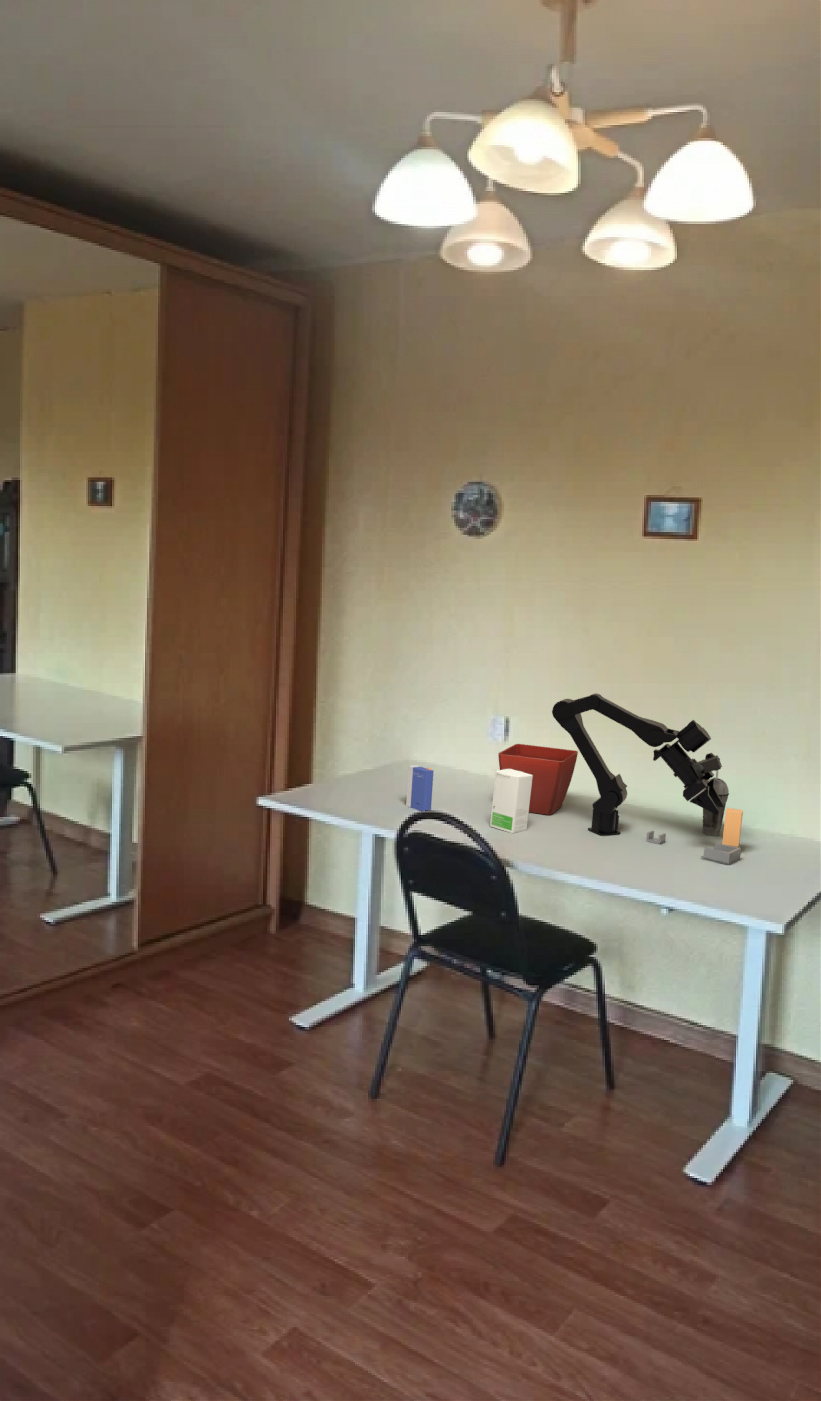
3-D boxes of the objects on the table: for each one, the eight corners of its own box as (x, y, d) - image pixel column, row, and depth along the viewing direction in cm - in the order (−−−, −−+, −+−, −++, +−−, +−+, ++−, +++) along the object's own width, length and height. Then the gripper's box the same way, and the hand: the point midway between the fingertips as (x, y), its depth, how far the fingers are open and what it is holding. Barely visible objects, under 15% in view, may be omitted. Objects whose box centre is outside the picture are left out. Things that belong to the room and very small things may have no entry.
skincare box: (489, 827, 303) (493, 770, 300) (504, 823, 308) (508, 767, 305) (513, 833, 297) (518, 776, 295) (528, 830, 302) (533, 773, 300)
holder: (700, 858, 284) (701, 847, 284) (712, 853, 290) (713, 842, 289) (728, 865, 280) (729, 853, 279) (739, 859, 285) (741, 848, 285)
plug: (721, 852, 292) (725, 810, 290) (722, 848, 295) (727, 807, 294) (737, 854, 290) (741, 813, 289) (739, 850, 294) (743, 809, 292)
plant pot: (492, 810, 322) (497, 752, 320) (512, 797, 340) (516, 742, 337) (557, 820, 315) (562, 761, 313) (574, 806, 333) (579, 751, 330)
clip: (660, 844, 295) (660, 835, 295) (646, 841, 298) (647, 832, 297) (665, 842, 298) (665, 833, 297) (651, 839, 300) (652, 830, 300)
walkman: (431, 810, 317) (433, 769, 315) (423, 811, 315) (426, 770, 313) (413, 804, 323) (416, 763, 321) (405, 805, 321) (408, 764, 319)
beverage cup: (725, 832, 313) (732, 761, 310) (724, 838, 306) (731, 766, 303) (698, 828, 315) (705, 758, 312) (696, 834, 308) (703, 763, 305)
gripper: (700, 749, 283) (741, 798, 281) (708, 739, 301) (747, 784, 298) (665, 776, 287) (706, 824, 285) (676, 764, 305) (714, 809, 302)
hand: (719, 809), depth 293 cm, fingers open, 9 cm apart
